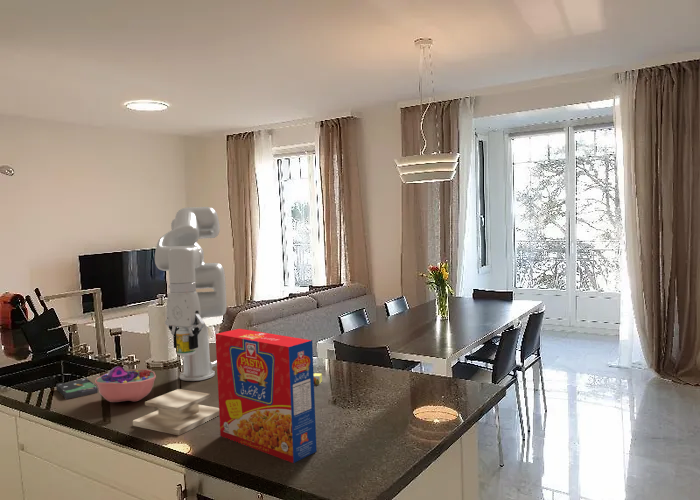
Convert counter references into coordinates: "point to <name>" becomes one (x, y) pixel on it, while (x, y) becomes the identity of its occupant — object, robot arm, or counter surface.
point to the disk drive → (77, 388)
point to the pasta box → (267, 392)
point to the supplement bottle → (183, 342)
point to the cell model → (125, 384)
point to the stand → (177, 412)
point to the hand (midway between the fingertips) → (186, 347)
